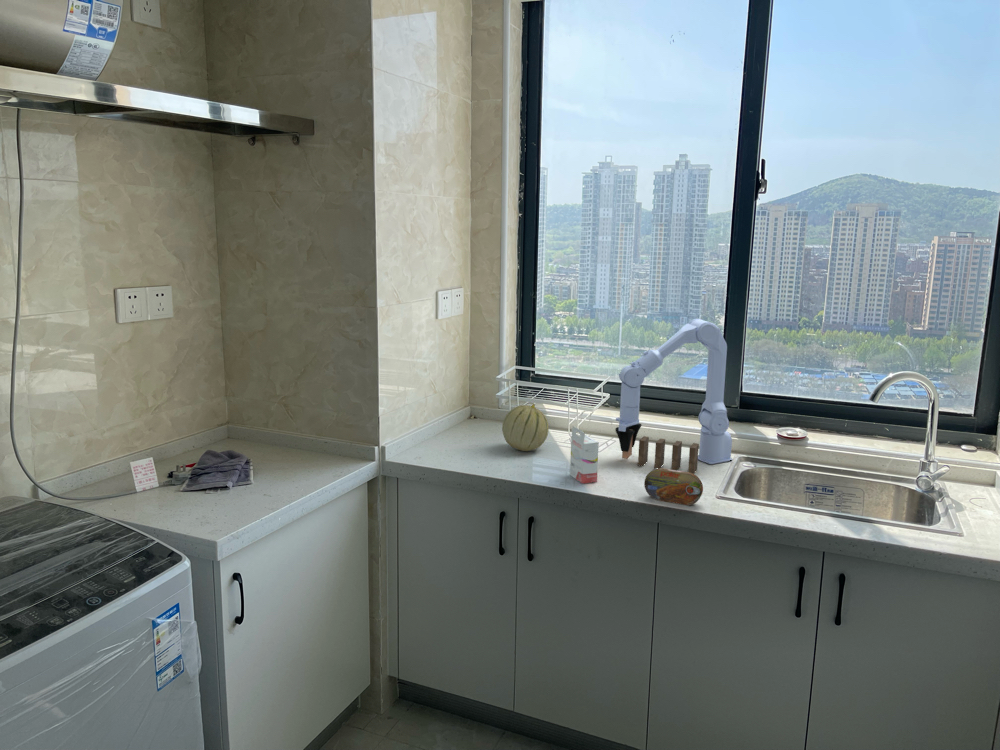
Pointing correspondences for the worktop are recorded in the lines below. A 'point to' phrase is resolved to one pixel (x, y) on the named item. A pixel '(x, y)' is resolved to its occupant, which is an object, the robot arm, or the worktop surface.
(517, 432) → the cantaloupe
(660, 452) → the domino
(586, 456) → the ink cartridge box
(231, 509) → the worktop surface
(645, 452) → the domino
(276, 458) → the worktop surface
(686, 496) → the tin
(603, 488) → the worktop surface
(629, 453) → the domino
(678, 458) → the domino
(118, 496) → the worktop surface
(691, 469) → the domino
